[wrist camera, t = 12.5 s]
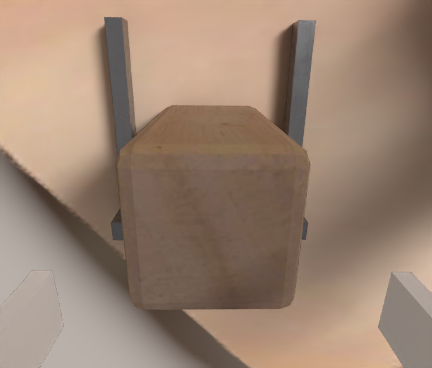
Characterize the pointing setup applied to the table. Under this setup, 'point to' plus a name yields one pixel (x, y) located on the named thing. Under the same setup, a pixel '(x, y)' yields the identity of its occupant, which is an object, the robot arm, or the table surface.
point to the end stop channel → (124, 91)
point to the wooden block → (212, 210)
